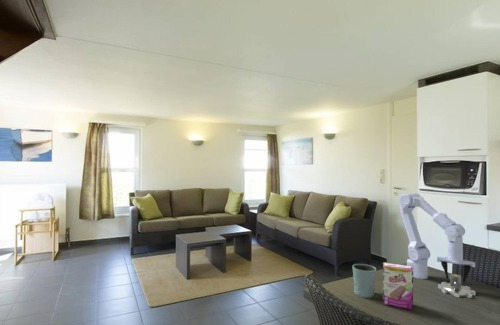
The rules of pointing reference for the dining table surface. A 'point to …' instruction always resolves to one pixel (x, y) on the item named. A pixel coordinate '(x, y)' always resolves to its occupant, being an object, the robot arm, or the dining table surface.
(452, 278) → the link block
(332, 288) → the dining table surface
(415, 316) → the dining table surface
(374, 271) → the teal cup
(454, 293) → the sprocket
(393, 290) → the candy bar box
